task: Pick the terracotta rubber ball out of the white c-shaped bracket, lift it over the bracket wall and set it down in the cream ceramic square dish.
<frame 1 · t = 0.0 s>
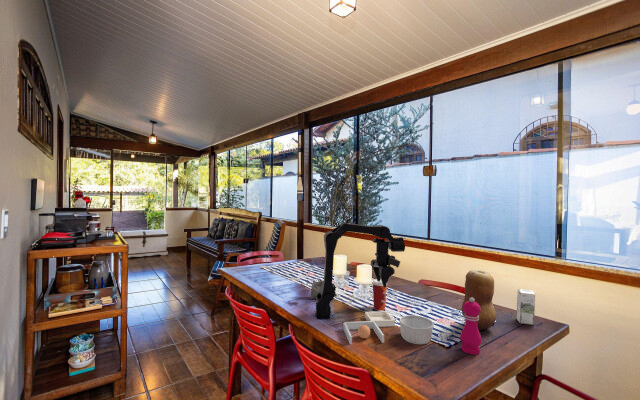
hand: (381, 284, 152), 15 cm above the table, fingers open, 9 cm apart
syrup box: (525, 322, 146), on the table
dish: (379, 321, 144), on the table
mineral rock: (322, 299, 173), on the table
white c-shaped bracket: (362, 335, 130), on the table
pepper mill: (470, 351, 119), on the table
paper cup: (379, 308, 160), on the table
butternut squash: (477, 328, 139), on the table
ball: (363, 337, 128), on the table
ramekin: (415, 338, 128), on the table
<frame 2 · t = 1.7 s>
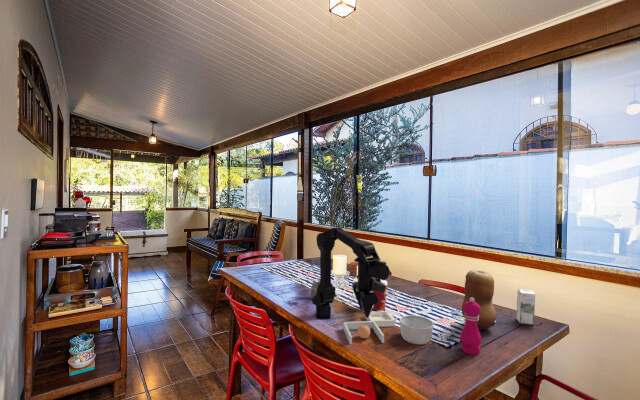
hand: (364, 312, 128), 10 cm above the table, fingers open, 9 cm apart
nothing on the table moved.
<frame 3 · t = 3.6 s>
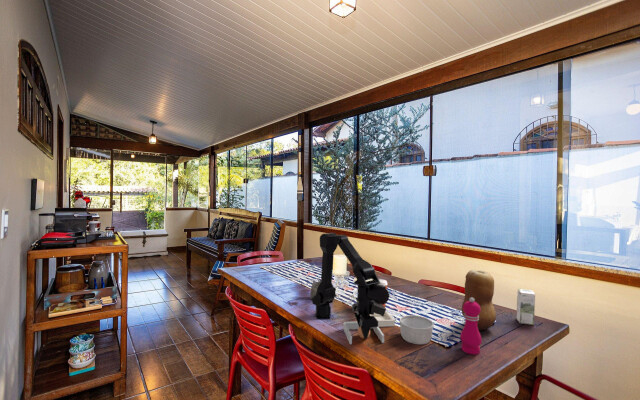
hand: (363, 335, 128), 1 cm above the table, fingers closed on ball, 5 cm apart
ball: (363, 337, 128), on the table, touching gripper
everything else where it was.
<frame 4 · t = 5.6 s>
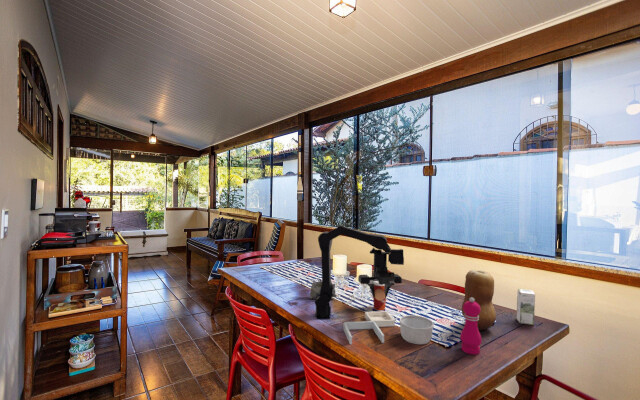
hand: (379, 297, 143), 11 cm above the table, fingers closed on ball, 5 cm apart
ball: (379, 300, 143), point 10 cm above the table, touching gripper
everything else where it was.
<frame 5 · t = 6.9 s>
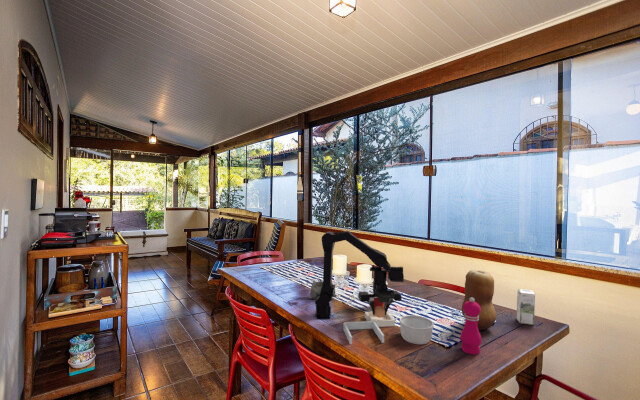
hand: (379, 314, 144), 3 cm above the table, fingers closed on ball, 5 cm apart
ball: (379, 317, 144), point 2 cm above the table, touching gripper
everything else where it was.
when the fingers open (3 cm above the table, at t = 7.6 s): ball drops 1 cm, resting on dish.
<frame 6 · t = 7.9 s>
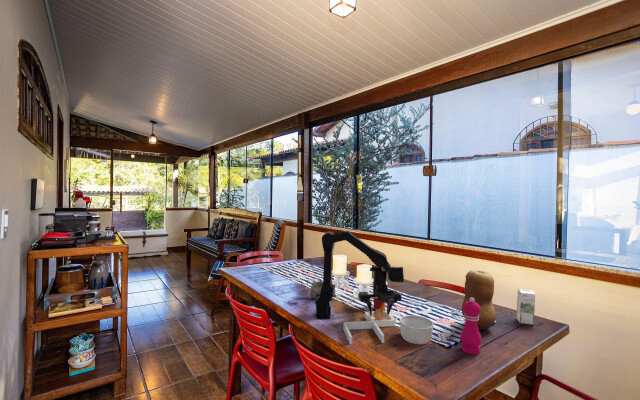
hand: (379, 315, 144), 3 cm above the table, fingers open, 8 cm apart
ball: (379, 320, 144), point 1 cm above the table, touching dish
everything else where it was.
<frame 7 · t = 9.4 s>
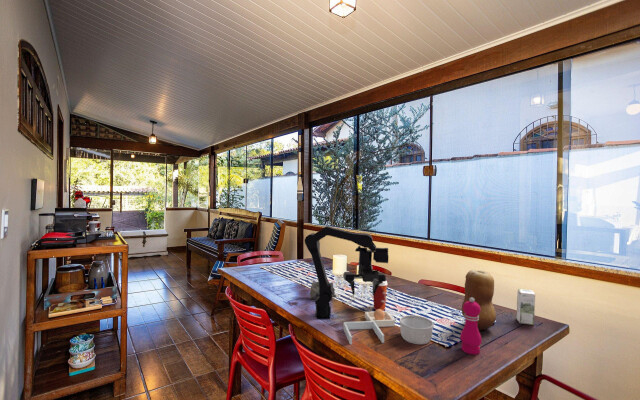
hand: (363, 295, 145), 11 cm above the table, fingers open, 9 cm apart
nothing on the table moved.
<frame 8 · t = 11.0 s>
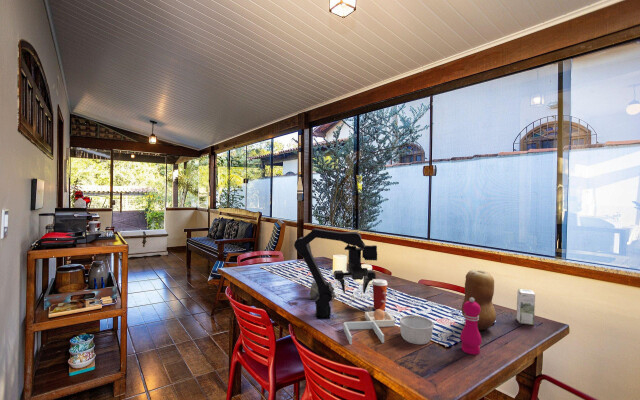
hand: (354, 293, 146), 12 cm above the table, fingers open, 9 cm apart
nothing on the table moved.
at the end: ball inside the target area on the dish (0.1 cm from its centre), point 0.6 cm above the dish's base; the gripper is holding nothing; ball touching dish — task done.
